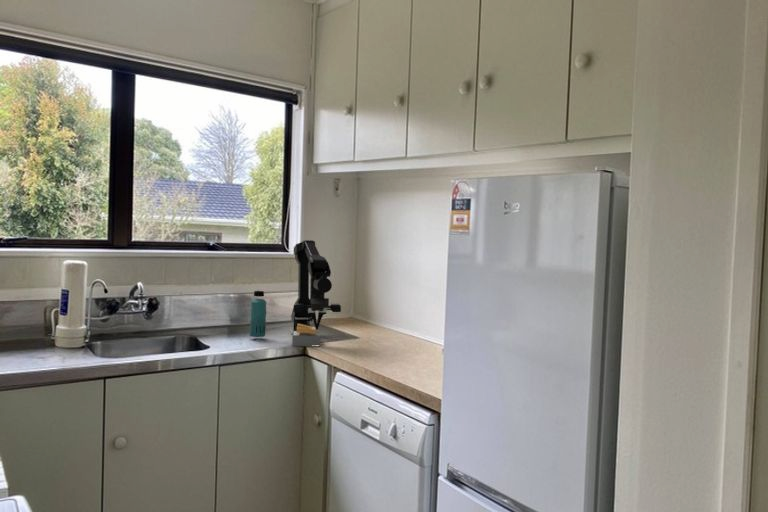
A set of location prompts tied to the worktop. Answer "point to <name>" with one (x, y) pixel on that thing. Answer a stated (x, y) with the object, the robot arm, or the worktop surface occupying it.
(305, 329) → the rocker near
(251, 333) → the beverage bottle
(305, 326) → the rocker far
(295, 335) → the grey square bin
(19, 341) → the worktop surface
